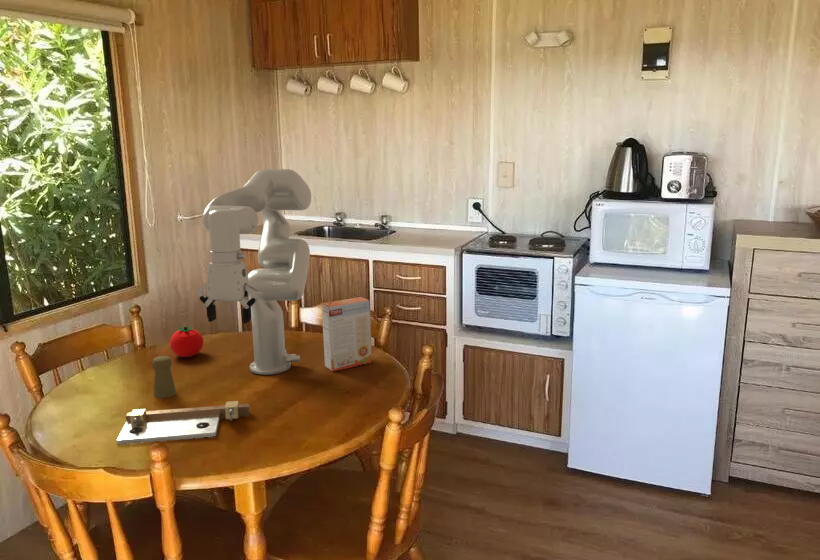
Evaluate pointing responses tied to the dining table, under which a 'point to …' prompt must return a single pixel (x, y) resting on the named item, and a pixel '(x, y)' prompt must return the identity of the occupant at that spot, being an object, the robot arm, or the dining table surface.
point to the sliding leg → (232, 410)
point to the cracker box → (346, 333)
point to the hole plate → (174, 424)
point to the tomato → (186, 342)
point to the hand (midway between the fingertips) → (229, 321)
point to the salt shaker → (163, 377)
